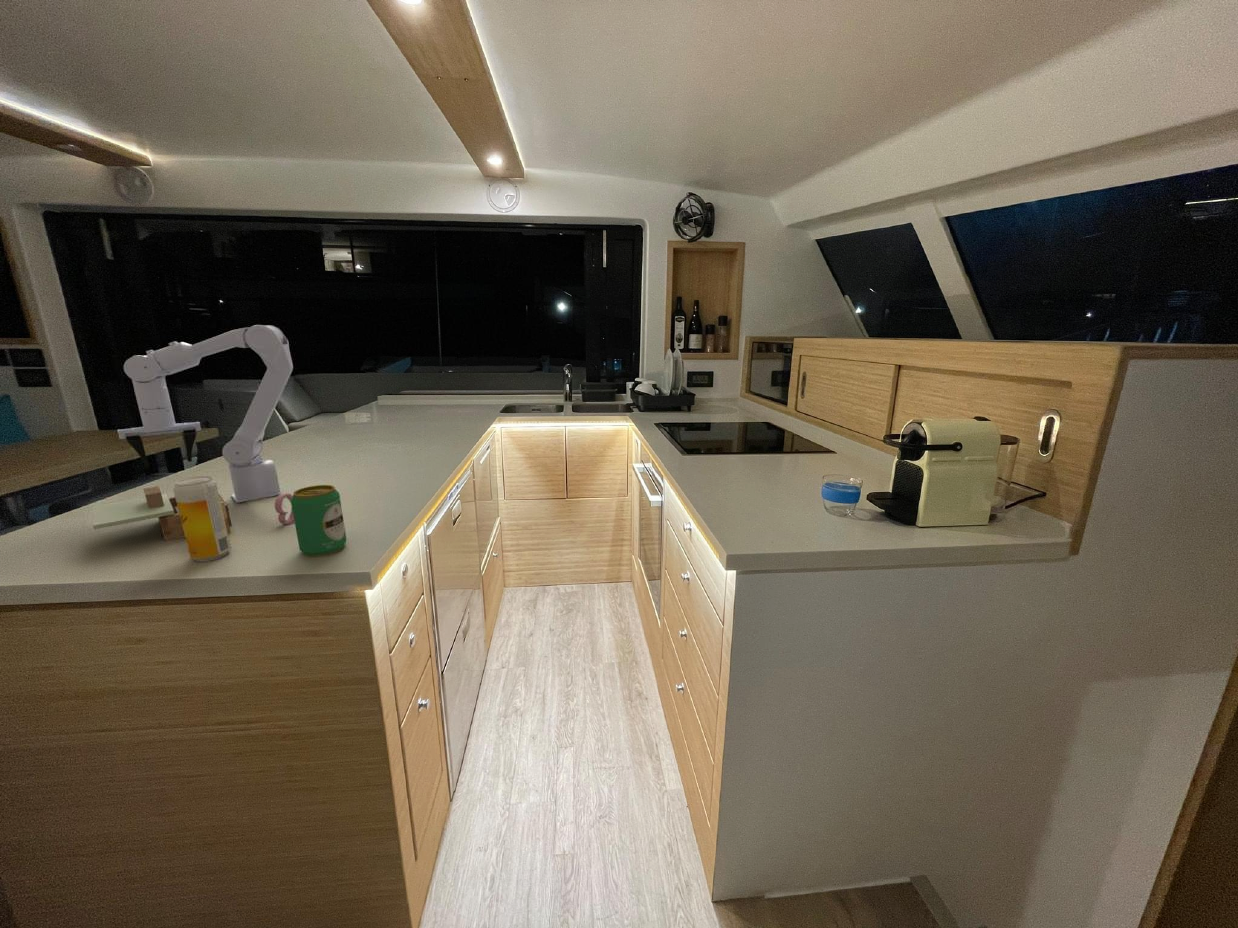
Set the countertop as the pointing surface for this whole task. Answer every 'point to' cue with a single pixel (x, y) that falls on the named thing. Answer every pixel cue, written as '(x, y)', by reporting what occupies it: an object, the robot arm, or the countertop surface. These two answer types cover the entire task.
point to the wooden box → (179, 521)
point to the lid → (132, 509)
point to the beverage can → (318, 520)
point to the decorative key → (279, 509)
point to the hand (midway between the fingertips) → (169, 463)
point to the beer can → (202, 518)
